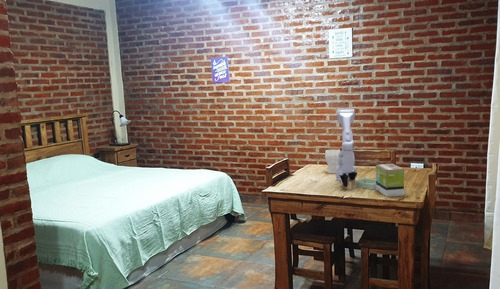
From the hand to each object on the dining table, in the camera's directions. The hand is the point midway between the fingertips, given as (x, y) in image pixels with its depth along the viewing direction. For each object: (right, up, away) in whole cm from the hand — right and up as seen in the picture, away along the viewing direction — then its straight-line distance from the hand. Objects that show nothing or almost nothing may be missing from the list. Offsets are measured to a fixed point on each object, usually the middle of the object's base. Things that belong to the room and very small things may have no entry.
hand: (348, 185), depth 247 cm
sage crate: (+12, -1, +2) cm, 13 cm away
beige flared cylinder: (0, +4, +45) cm, 45 cm away
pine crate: (0, -1, 0) cm, 1 cm away
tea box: (+19, -3, -14) cm, 24 cm away
